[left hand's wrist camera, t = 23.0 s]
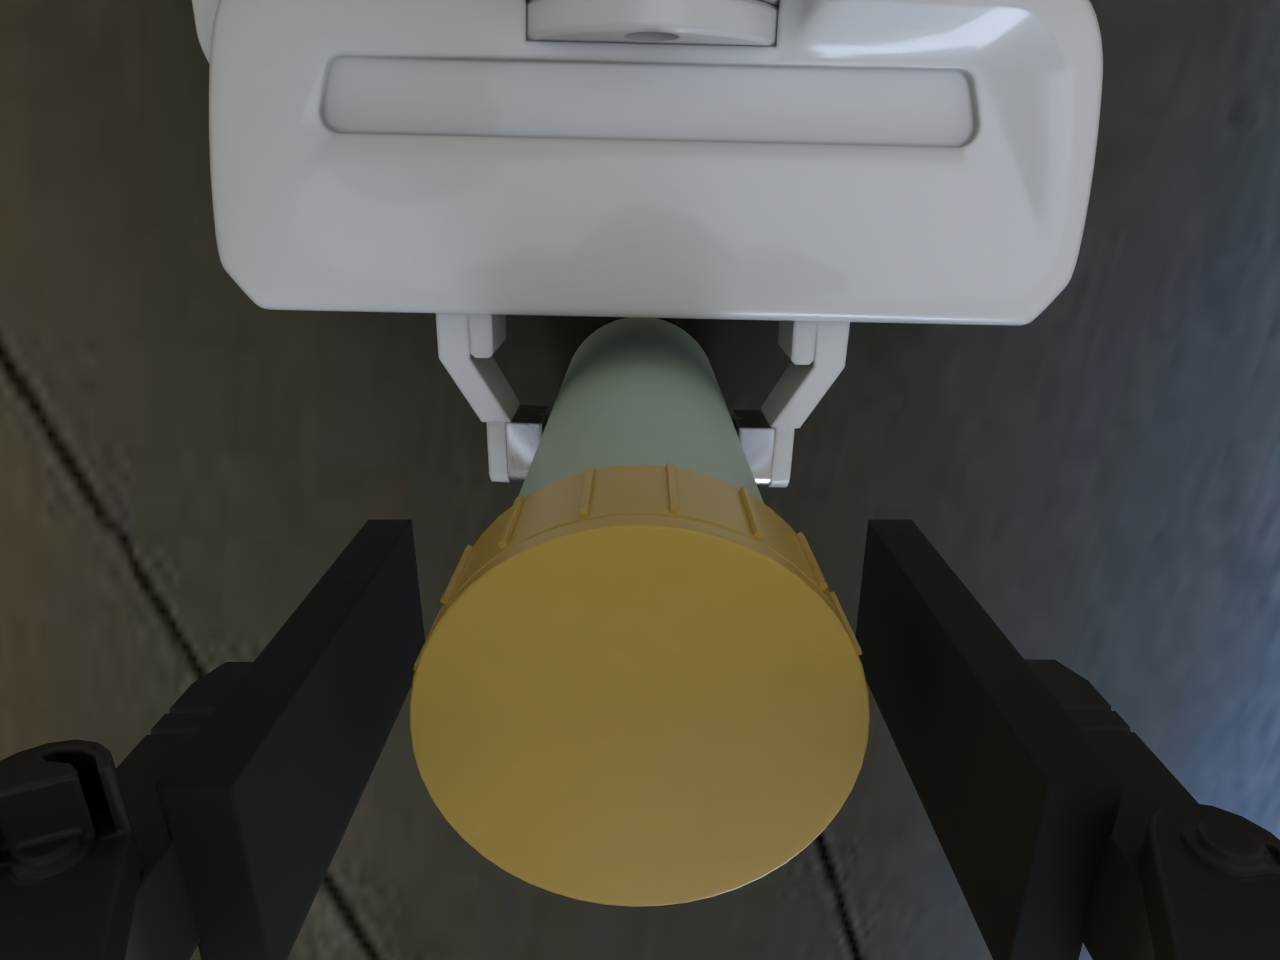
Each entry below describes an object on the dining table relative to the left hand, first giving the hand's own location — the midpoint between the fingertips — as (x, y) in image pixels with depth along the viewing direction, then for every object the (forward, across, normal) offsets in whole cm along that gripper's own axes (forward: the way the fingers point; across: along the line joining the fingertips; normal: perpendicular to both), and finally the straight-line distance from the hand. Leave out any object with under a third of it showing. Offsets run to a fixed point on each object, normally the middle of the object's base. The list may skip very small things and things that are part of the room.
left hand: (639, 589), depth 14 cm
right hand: (+8, 0, -1) cm, 8 cm away
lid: (-4, 0, 0) cm, 4 cm away
